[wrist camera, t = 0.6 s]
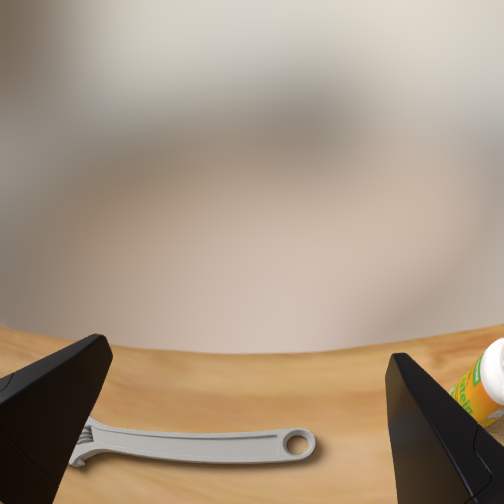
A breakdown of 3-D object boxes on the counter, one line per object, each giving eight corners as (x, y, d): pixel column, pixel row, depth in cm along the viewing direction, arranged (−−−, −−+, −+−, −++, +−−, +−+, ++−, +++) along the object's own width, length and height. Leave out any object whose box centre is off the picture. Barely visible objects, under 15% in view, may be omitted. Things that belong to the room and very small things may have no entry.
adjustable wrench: (313, 429, 20) (314, 423, 19) (314, 502, 16) (316, 502, 14) (56, 399, 23) (46, 391, 22) (41, 452, 18) (29, 446, 17)
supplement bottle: (440, 384, 20) (492, 317, 14) (486, 376, 20) (541, 310, 13) (447, 440, 16) (515, 391, 10) (496, 427, 16) (564, 373, 9)
